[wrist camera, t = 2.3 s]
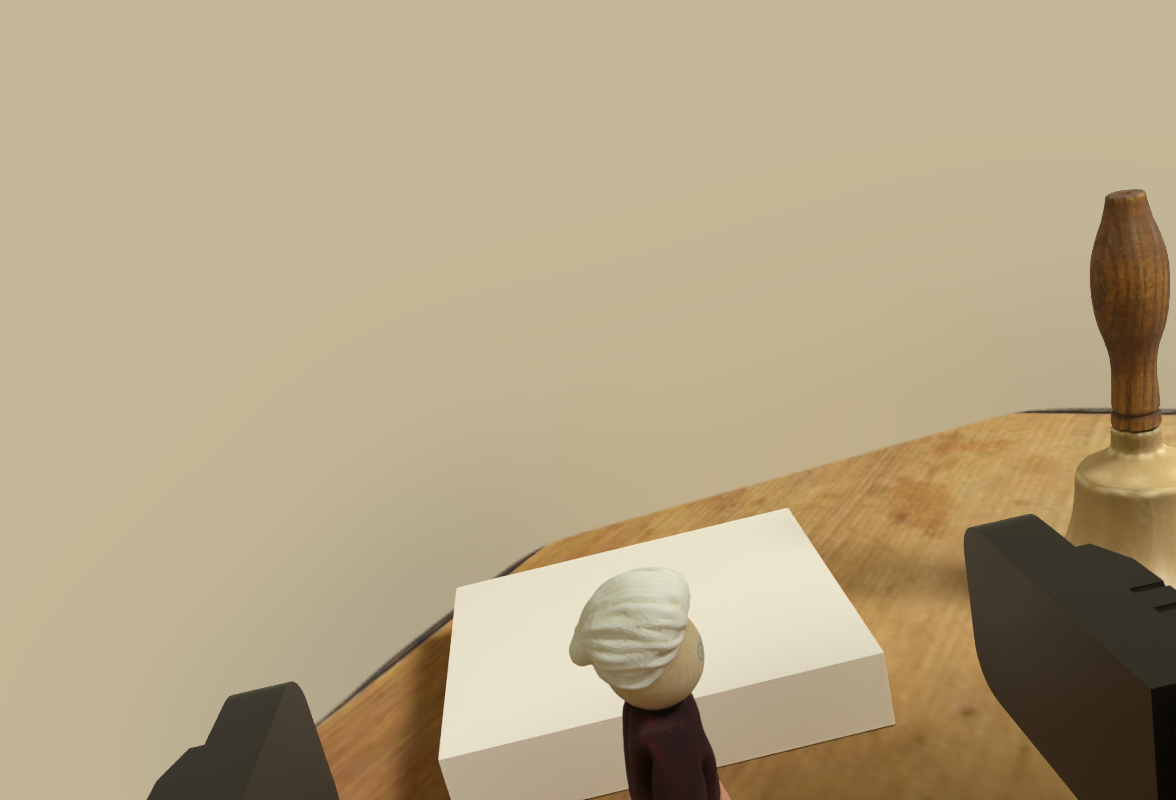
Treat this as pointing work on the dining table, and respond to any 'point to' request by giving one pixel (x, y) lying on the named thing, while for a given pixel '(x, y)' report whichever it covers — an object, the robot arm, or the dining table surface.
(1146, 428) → the hand bell
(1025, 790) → the dining table surface
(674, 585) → the grandmother figurine
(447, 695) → the stone slab
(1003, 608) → the robot arm
